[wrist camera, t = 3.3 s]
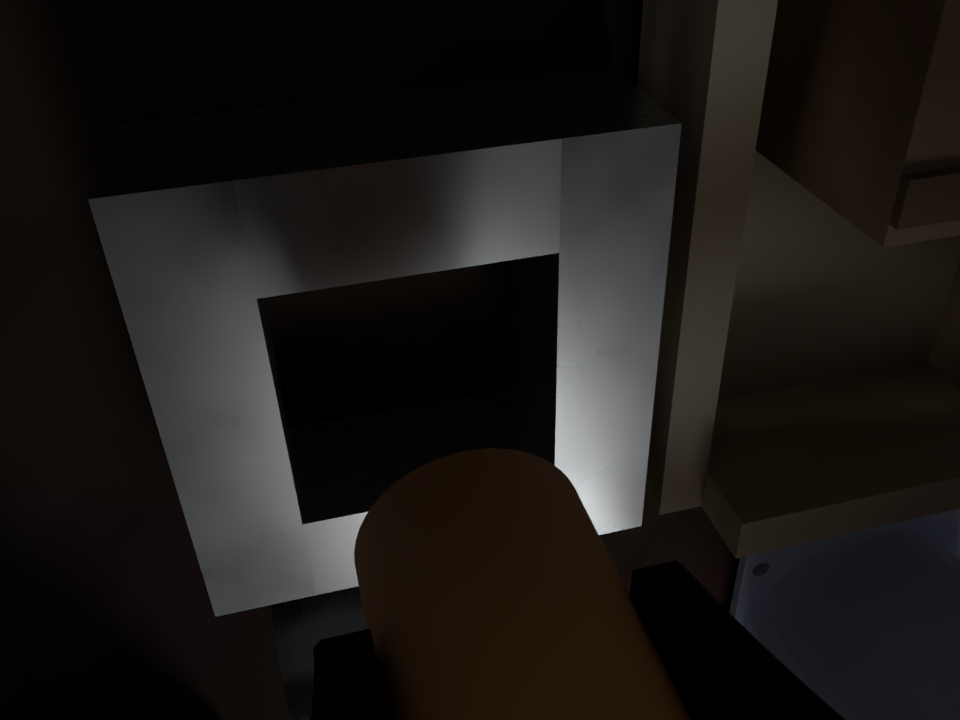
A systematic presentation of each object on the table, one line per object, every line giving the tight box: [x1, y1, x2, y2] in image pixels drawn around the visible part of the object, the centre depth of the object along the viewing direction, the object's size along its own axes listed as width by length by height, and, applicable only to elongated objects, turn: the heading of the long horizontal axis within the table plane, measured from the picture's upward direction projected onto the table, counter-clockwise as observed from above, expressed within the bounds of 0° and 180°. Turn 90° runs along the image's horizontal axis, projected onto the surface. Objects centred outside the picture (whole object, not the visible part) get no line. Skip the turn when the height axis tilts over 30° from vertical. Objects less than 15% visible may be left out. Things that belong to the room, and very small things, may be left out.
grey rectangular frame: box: [88, 67, 682, 720], centre depth 18 cm, size 13×9×4 cm
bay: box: [637, 0, 960, 559], centre depth 17 cm, size 14×9×4 cm, turn 2°
